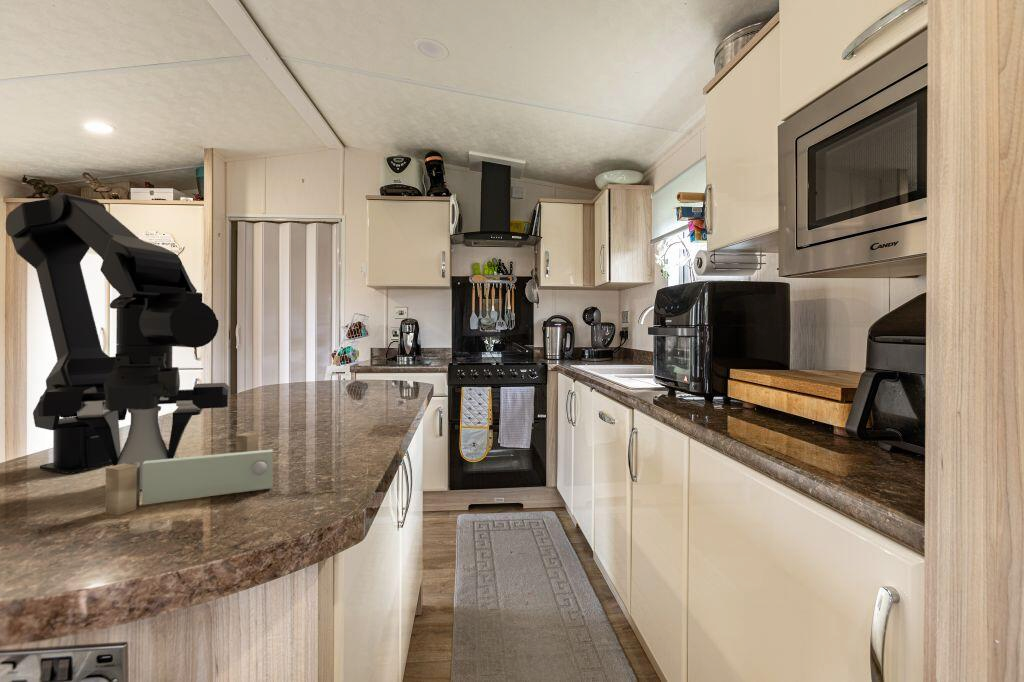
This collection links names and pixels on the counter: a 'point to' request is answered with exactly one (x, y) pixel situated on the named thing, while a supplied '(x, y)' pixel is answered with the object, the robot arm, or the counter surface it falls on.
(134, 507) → the door frame
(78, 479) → the counter surface
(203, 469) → the door
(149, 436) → the flask
